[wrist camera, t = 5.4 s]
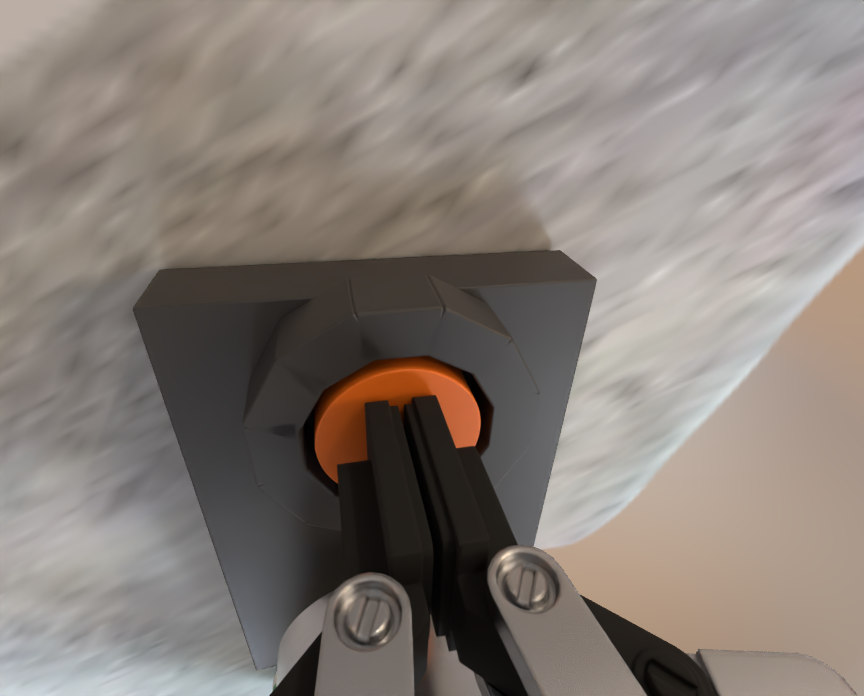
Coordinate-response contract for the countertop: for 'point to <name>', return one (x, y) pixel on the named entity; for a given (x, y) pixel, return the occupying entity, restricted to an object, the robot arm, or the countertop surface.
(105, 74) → the countertop surface
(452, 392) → the power button
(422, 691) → the kettle
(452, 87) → the countertop surface
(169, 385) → the push button panel
